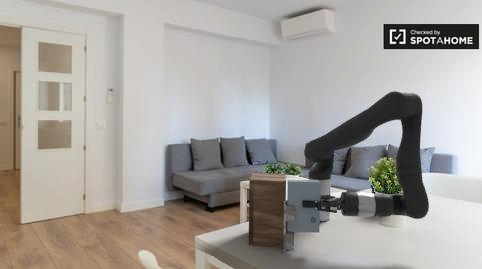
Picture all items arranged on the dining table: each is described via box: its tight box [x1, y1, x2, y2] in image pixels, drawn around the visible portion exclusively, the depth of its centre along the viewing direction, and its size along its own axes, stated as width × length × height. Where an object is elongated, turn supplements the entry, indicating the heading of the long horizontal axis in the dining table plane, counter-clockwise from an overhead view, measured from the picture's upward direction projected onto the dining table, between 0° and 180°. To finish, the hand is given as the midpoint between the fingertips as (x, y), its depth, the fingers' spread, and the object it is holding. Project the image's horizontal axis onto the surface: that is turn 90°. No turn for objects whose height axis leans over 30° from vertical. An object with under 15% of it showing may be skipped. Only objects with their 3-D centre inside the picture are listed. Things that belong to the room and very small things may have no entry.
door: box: [286, 179, 321, 233], centre depth 107 cm, size 4×10×16 cm, turn 84°
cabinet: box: [248, 172, 295, 252], centre depth 116 cm, size 19×15×22 cm
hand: (302, 202), depth 108 cm, fingers closed on door, 3 cm apart
